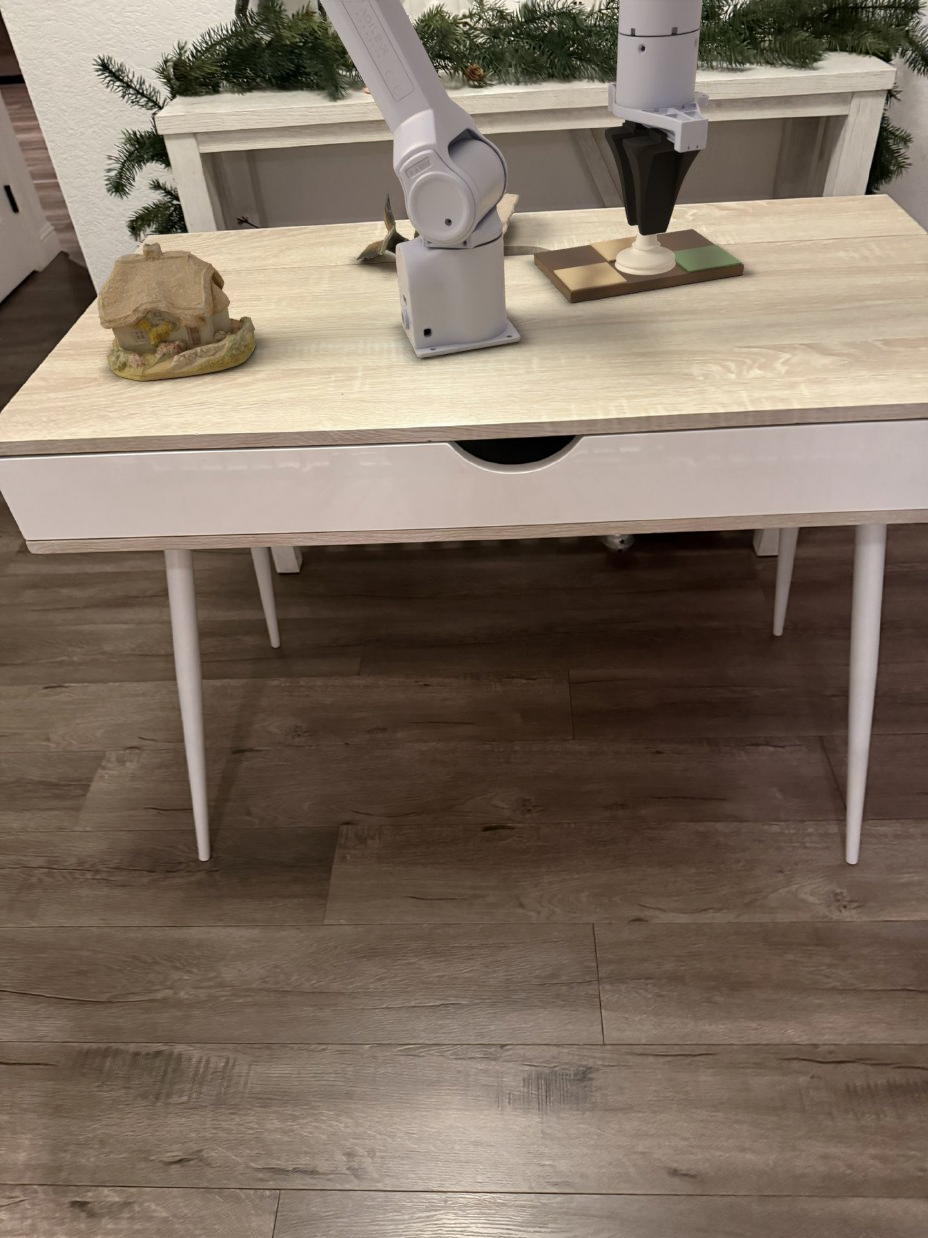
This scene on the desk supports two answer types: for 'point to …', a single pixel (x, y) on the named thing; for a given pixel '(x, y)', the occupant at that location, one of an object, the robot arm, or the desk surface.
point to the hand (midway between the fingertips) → (646, 228)
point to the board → (597, 276)
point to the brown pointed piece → (390, 239)
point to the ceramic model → (170, 317)
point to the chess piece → (645, 257)
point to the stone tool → (506, 209)
